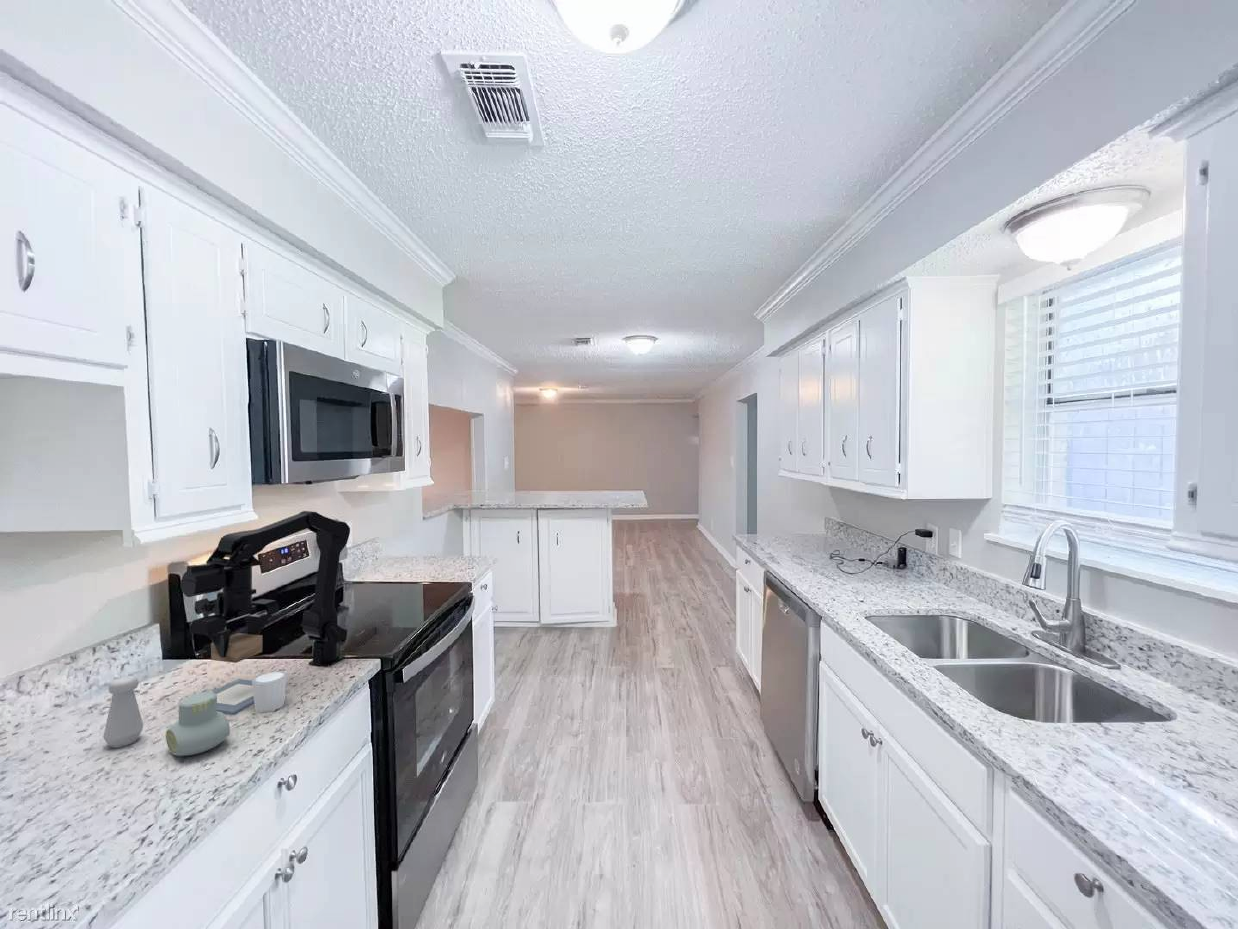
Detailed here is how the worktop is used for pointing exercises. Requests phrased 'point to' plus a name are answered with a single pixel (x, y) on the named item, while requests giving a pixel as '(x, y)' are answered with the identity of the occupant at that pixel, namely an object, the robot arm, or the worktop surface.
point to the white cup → (269, 690)
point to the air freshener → (197, 725)
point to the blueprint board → (234, 696)
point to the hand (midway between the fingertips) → (237, 651)
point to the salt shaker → (123, 713)
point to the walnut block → (239, 648)
